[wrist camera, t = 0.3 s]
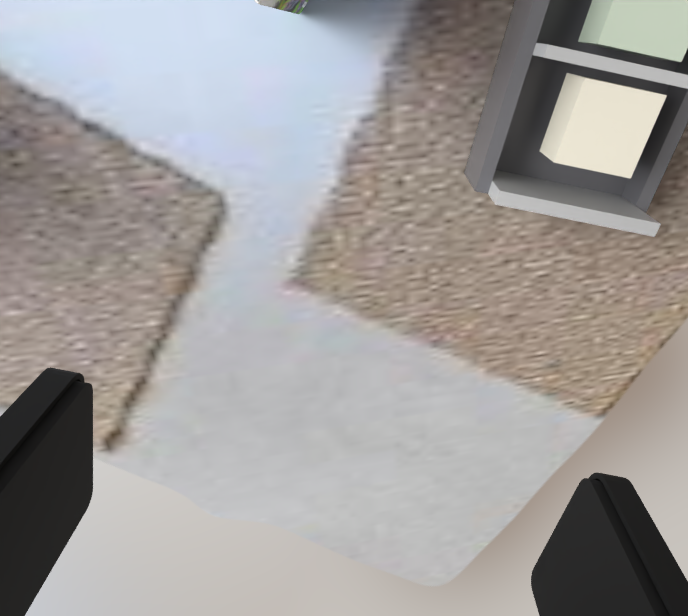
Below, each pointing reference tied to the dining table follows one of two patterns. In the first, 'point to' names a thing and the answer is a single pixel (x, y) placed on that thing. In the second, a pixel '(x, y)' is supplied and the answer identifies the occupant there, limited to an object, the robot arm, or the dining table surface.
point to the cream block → (600, 125)
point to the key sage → (639, 27)
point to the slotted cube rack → (536, 111)
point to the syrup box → (285, 4)
